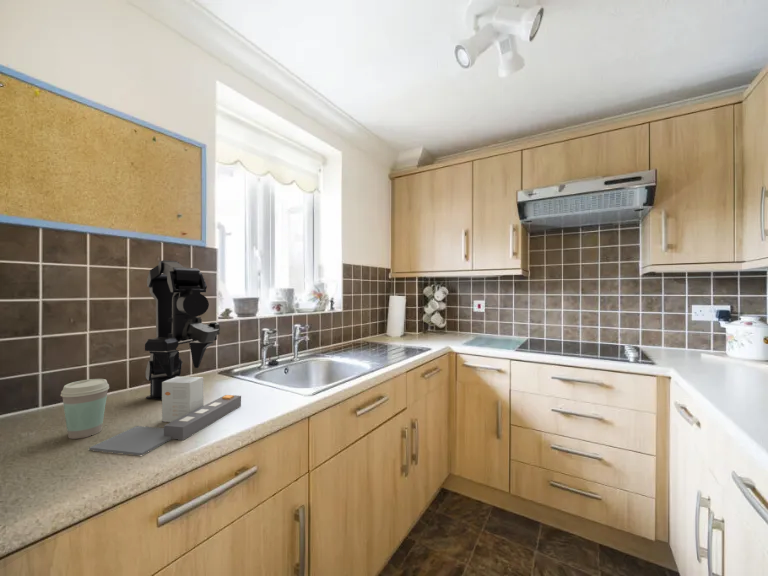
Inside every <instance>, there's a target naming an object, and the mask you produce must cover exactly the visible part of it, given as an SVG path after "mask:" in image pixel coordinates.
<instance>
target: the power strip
mask: <svg viewBox="0 0 768 576" xmlns="http://www.w3.org/2000/svg"><path fill="white" fill-rule="evenodd" d="M241 406H242V395H235V394H233V395H231V394H224V395H222V396H221V397H217V398H216V399H214V400H213V401H211V402H209V403H207V404H204V406H202V407H200V408H198V409H196V410H194V411H192V412H190V413H188V414H186V415H184V416H182V417H180V418H178V419H176V420H174V421H172V422H167V424H164V425H163V428H164V436H169V437H171V440H173V439H178V440H177V441H184V439H185V440H186V439H188V438H190V437H191V436H193V435H194V433H195V434H196V433H198V432H199V430H200V431H201V430H203V429H205V428H206V427H208V426H210V425H212V424H213V423H215V422H217V421H219V420H220V419H221V418H224V417H225V416H226V415H228V414H230V413H231V412H233V411H235V410H237V409H238V408H240V407H241ZM192 434H193V435H192ZM189 436H190V437H189ZM187 437H188V438H187Z"/></svg>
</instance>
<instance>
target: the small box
mask: <svg viewBox="0 0 768 576" xmlns="http://www.w3.org/2000/svg"><path fill="white" fill-rule="evenodd" d="M204 400H205V399H204V377H203V376H200V377H199V376H175V378H172V379H169V380H166V381H164V382H162V400H161V421H162V422H164V423H165V422H166V423H170V422H172V421H174V420H176V419H178V418H180V417H182V416H184V415H186V414H188V413H190V412H192V411H194V410H196V409H198V408H200V407H202V406H204V405H205V403H204Z"/></svg>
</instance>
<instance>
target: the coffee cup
mask: <svg viewBox="0 0 768 576" xmlns="http://www.w3.org/2000/svg"><path fill="white" fill-rule="evenodd" d="M109 389H110V384H109V383H108V380H107V379H104V378H91V379H81V380H78V381H73V382H70V383H67V384H65V385H64V386H63V388H62V390H61V391H60V397H62V404H63V411H64V415H65V416H64V417H65V418H64V419H65V424H66V431H67V432H66V433H67V437H68V439H73V440H76V439H84V438H89V437H90V436H91V435H92V436H94V435H96V434H99V433H100V432H101V431H102V429H103V422H104V416H105V410H106V404H107V397H108V390H109Z"/></svg>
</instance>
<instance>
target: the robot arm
mask: <svg viewBox="0 0 768 576" xmlns="http://www.w3.org/2000/svg"><path fill="white" fill-rule="evenodd" d="M147 275H148V276H147V280H146V284H147V285H146V286H147V288H149V294H150V295H151V297H152V298H153V299H154V301H155V337H153V338H152V337H151V338H148V339H147V340H146V341H145V342H144V351H145V352H149V354H150V355H149V360H148V361H147V365H146V368H145V378H146V380H147V381H149V382H150V383H149V384H150V386H149V389H150V391H149V393H150V394H149V395H147V396H145V399H148V400H151V399H152V400H161V401H162V382H164V381H166V380H169V379H172V378H175V377H178V376H179V377H181V373H182V367H183V361H182V359H181V357H180V352H179V351H180V350H179V349H177V348H178V347H179V345H182V344H186V343H189V349H190V355H191V359H192V363H193V367H194V369H199V368H200V366H201V362H202V360H203V358H204V355H205V352H206V351H207V349H208V348H209V347H210V346H211V345H212V344H214V343H215V341H217V340H218V335H219V336H220V334H221V332H220V330H221V328H220V327H221V326H220V323H218V322H210V323H209V324H208V323H206V324H205V323H203V322H202V318H201V317H200V316H202V315H204V314H205V313H206V312H207V311H208V309H209V306H210V304H209V303H210V302H209V300H208V298H207V297H206V295H204V294H202V293H207V289H208V286H207V283H206V279H205V277H204V275H203V273H202V272H201V270H200V269H199V268H197V267H185V266H184V265H182V264H180V261H177V260H168V259H165V260H164V259H163V260H159V261H158V265H156V266H154V267H153V268H151V269H150V270H149V272H148V274H147Z"/></svg>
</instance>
